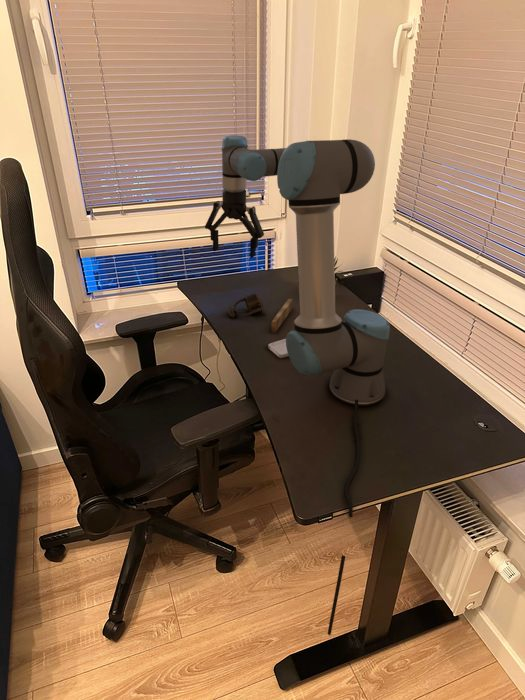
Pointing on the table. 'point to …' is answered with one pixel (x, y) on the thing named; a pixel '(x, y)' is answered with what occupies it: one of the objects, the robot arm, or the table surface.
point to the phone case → (279, 348)
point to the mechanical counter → (248, 305)
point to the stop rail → (281, 316)
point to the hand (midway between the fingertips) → (234, 253)
